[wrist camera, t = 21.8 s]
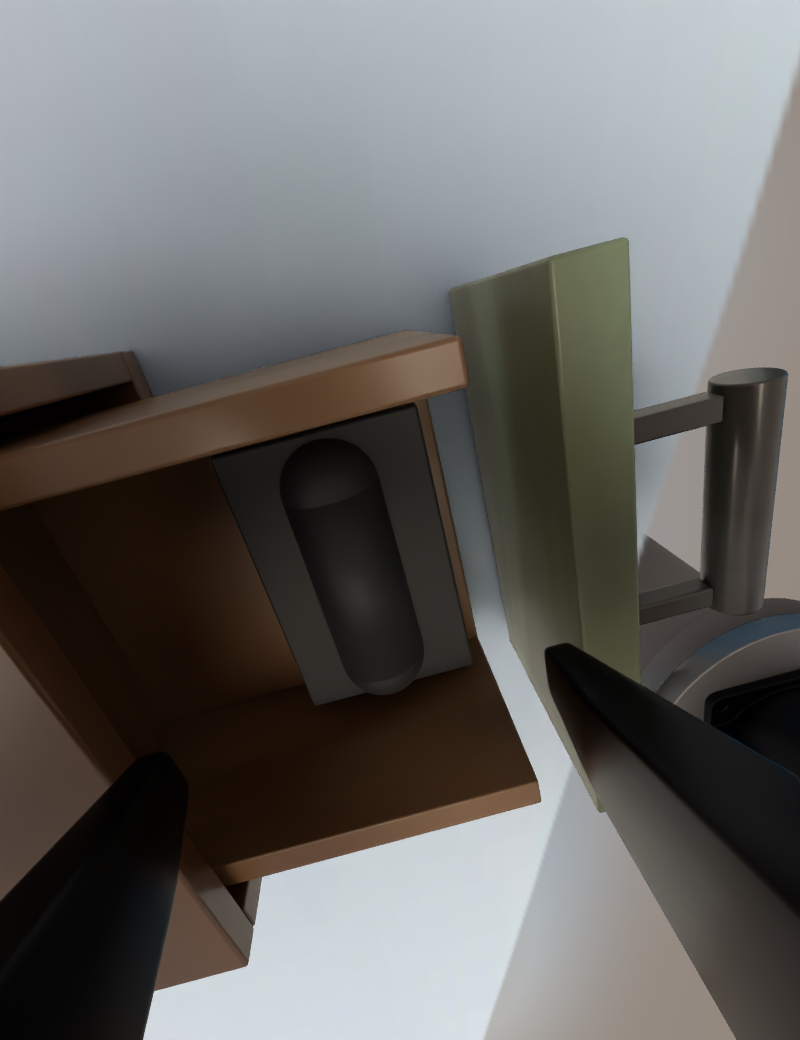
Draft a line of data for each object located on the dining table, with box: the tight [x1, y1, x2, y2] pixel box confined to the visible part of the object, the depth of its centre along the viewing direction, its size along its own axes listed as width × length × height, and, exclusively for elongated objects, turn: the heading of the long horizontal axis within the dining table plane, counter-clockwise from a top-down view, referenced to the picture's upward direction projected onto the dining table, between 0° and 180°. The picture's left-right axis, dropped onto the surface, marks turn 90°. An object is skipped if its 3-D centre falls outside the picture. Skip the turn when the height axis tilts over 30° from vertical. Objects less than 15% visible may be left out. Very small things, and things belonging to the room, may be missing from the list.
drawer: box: [0, 237, 788, 887], centre depth 12 cm, size 19×12×7 cm, turn 103°
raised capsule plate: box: [210, 402, 473, 706], centre depth 13 cm, size 8×5×3 cm, turn 13°
